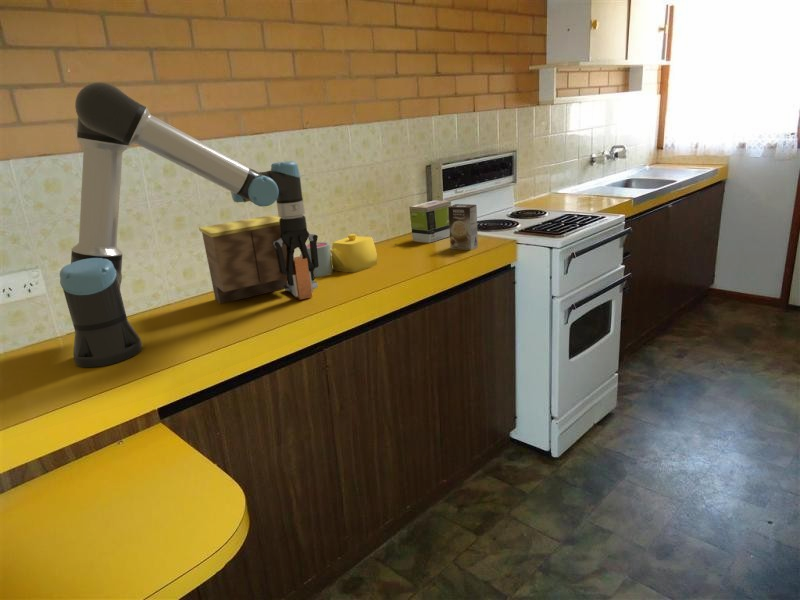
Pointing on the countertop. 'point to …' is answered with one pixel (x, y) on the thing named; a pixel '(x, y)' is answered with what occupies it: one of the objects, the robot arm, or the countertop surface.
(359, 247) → the teapot
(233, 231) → the cabinet
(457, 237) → the coffee box
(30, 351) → the countertop surface
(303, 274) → the upright terracotta brick
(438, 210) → the tea box
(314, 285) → the token
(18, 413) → the countertop surface
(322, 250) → the mug
